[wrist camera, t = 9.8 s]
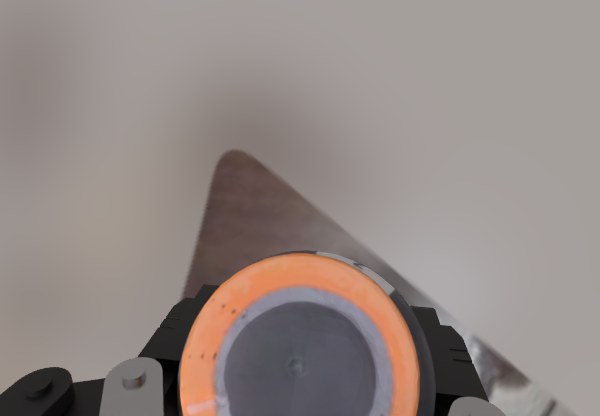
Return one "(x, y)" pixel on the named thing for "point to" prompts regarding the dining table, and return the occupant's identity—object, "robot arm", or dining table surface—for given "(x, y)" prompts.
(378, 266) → the dining table surface
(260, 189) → the dining table surface
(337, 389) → the pill bottle
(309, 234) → the dining table surface
